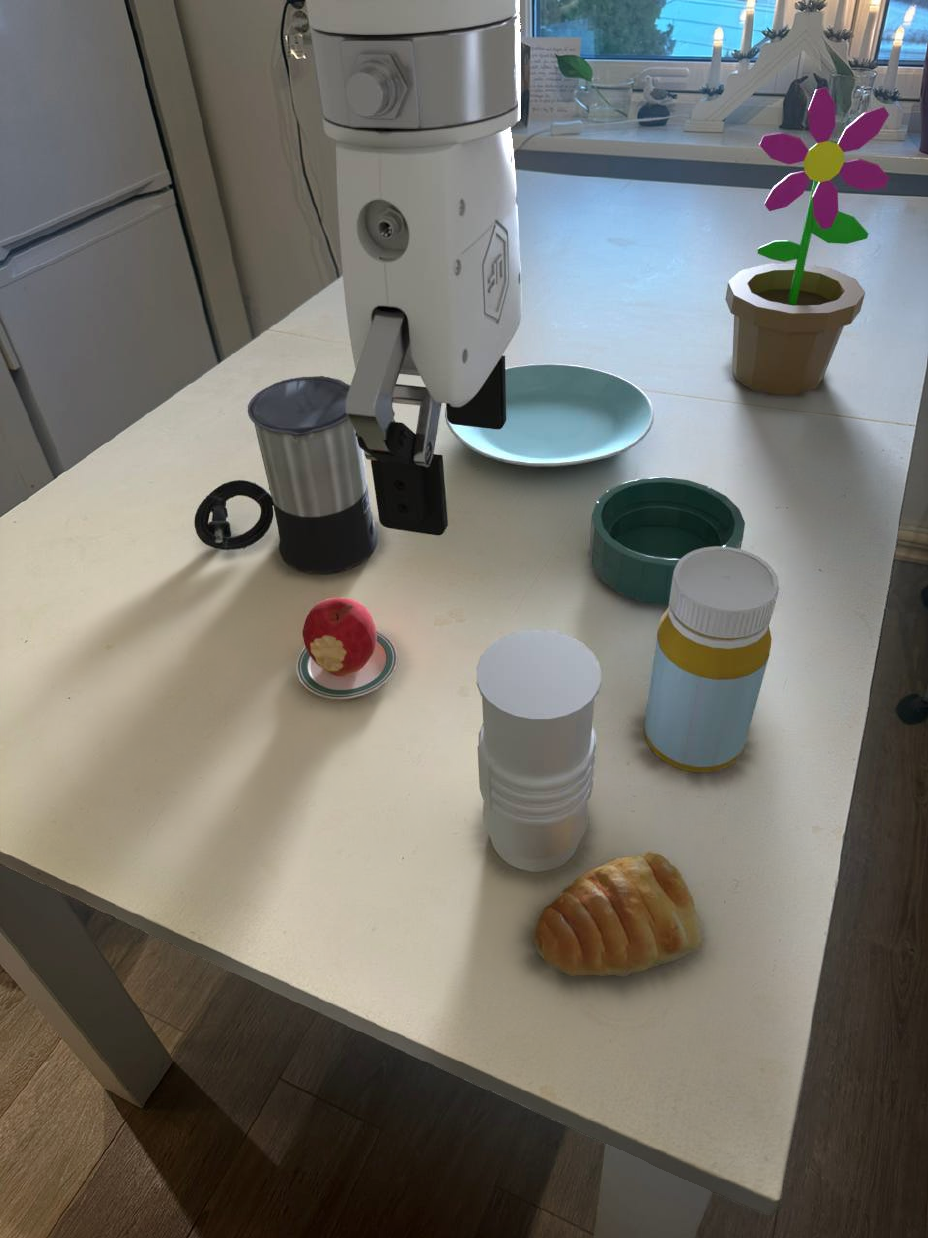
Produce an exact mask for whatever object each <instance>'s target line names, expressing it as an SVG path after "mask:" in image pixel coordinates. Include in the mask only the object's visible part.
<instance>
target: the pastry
mask: <svg viewBox="0 0 928 1238" xmlns="http://www.w3.org/2000/svg"><path fill="white" fill-rule="evenodd" d="M534 944H535V947H536V950H537V952H538V954H539V955H540V957H541V958H542V959H543V960H544V961H545V962H546V963H547V964H548V965H550V966H551V967H552V968H554V969H556V970H557V971H559V972H560V973H563V974H567V975H568V976H570V977H575V976H591V975H594V976H595V975H596V976H602V977H604V976H605V977H606V976H616V977H628V976H630V975H632V974H635V973H640V972H643V971H647V970H648V969H654V968H656V967H657V966H661V965H663V964H666V963H671V962H673V961H677V960H680V959H681V958H682V957H684V956H685V955H688V954H691V953H694V952H697V951H699V950H700V949H701V947H702V946H703V944H704V933H703V927H702V922H701V919H700V916H699V915H698V913H697V910H696V905H695V900H694V898H693V895H692V893H691V891H690V889H689V888H688V885H687V883H686V881H685V880H684V878H683V876H682V874H681V872H680V871H679V868H677V867H676V866H675V865H673V864H672V863H671V861H670V860H669V859H668V858H666V857H665V856H664V855H662V854H661V853H658V852H653V851H648V852H647V853H645V854H642V855H635V856H626V857H619V858H614V859H611V860H609V861H608V862H606V863H604V864H602V865H600V866H599V867H595V868H593V869H590V870H589V871H587V872H586V873H585V874H583V875H582V876H579V877H577V878H575V880H574V881H573V882H572V883H571V884H569V885H568V886H566V887H565V888H564V889H563V891H562V892H561V894H560V895H558V896H557V897H556V899H555V900H553V901H552V902H551V903H550V904H548V905H547V906H545V907H544V908H543V909H542V911H541V913H540V915H539V918H538V922H537V926H536V931H535V932H534Z"/></svg>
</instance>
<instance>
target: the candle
mask: <svg viewBox="0 0 928 1238" xmlns="http://www.w3.org/2000/svg"><path fill="white" fill-rule="evenodd" d="M479 657H480V658H479V660H478V663H477V666H476V685H477V686H476V687H477V689H478V691H479V695H480V697H481V700H482V701H481V702H482V703H481V704H482V724H481V727H480V729H479V732H478V746H477V763H478V784H479V786H478V787H479V791H480V795H481V797H482V800H483V804H482V821H483V824H484V826H485V829H486V832H487V834H488V835H489V837H490V841H491V844H492V847H493V849H494V850H495V852H496V853H497V854H498V856H499V857H500V858H501V859H502V860H503V861H505V863H506V864H508V865H509V866H512V867H514V868H516V869H519V870H522V871H527V872H530V873H537V872H540V873H541V872H548V871H550V870H551V871H552V870H555V869H557V868H559V867H561V866H563V865H565V864H566V863H567V862H568V861H569V860H571V858H572V857H573V856H574V855H575V853H576V851H577V850H578V849H579V846H580V842H581V840H582V838H583V837H584V835H585V833H586V831H587V828H588V825H589V820H590V816H589V800H590V799H591V796H592V795H591V794H592V791H593V786H594V775H595V763H596V752H597V738H596V737H597V736H596V732H595V730H594V728H593V724H594V713H595V701H596V698H597V697H598V695H599V693H600V689H601V685H602V679H603V678H602V671H601V670H602V669H601V664H600V663H599V660H598V659H597V657H596V655H595V653H593V651H592V650H591V649H589V647H588V646H587V645H586V644H585V643H583V642H582V641H580V640H578V639H577V638H576V637H572V636H571V635H568V634H565V633H562V632H559V631H554V630H549V629H548V630H547V629H526V630H522V631H517V632H516V631H515V632H513V633H510V634H507V635H505V636H502V637H500V638H498V639H497V640H496V641H495V642H493V643H492V644H490V645H488V647H487V648H486V650H484V652H483V653H482V654H481V656H479Z"/></svg>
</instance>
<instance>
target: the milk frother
mask: <svg viewBox="0 0 928 1238" xmlns="http://www.w3.org/2000/svg"><path fill="white" fill-rule="evenodd" d="M350 385H351V384H349V383H347V382H345V381H343V380H341V379H338V378H334V377H330V376H323V375H318V376H316V375H315V376H298V377H294V378H288V379H284V380H281V381H278V382H275V383H273V384H271V385H268V386H267V387H265V388H263V389H261V390H260V391H258V392H257V393H256V394H255V395H254V396H253V397H252V398H251V399H250V401H249V403H248V404H247V414H248V418H249V419H250V421H251V422H252V423H253V424H254V428H255V432H256V439H257V441H258V445H259V446H258V447H259V451H260V455H261V458H262V463H263V467H264V471H265V476H266V480H267V484H268V488H269V492H268V491H267V490H266V489H265V488H264V487H263V486H261V485H260V484H257V483H255V482H253V481H251V480H250V481H249V480H245V479H236V480H230V481H227V482H224V483H222V484H221V485H219V486H217V487H216V488H214V489H213V490H212V491H210V492H209V494H207V495H206V496H205V498H204V499H202V502H201V503H200V504H199V505H198V507H197V510H196V512H195V515H194V523H193V524H194V529H195V532H196V535H197V536H198V538H199V540H200V541H201V542H202V543H203V544H205V545H206V546H208V547H210V548H212V549H217V550H223V551H224V550H226V551H228V550H229V551H230V550H240V549H244V548H247V547H250V546H252V545H254V544H255V543H256V542H258V541H260V540H261V539H262V538H263V537H264V536H266V535H265V534H266V533H267V532H268V531H269V529H270V527H271V525H272V523H273V519H274V516H275V520H276V526H277V531H278V536H279V542H278V551H279V554H280V557H281V558H282V560H283V561H284V562H285V563H286V564H287V565H288V566H290V567H291V568H292V569H294V570H296V571H299V572H303V573H307V574H313V575H314V574H315V575H329V574H336V573H341V572H344V571H347V570H350V569H352V568H355V567H356V566H359V565H360V564H361V563H363V562H365V561H366V560H367V559H369V558H370V557H371V555H373V553H374V551H375V550H376V548H377V546H378V542H379V533H378V530H377V528H376V525H375V520H374V515H373V512H372V508H371V501H370V491H369V486H368V480H367V473H366V472H367V471H366V464H365V455H364V450H363V449H361V448H360V447H359V444H358V440H357V436H356V431H355V429H354V427H353V425H352V424H351V422H350V420H349V418H348V416H347V414H346V409H345V402H346V397H347V394H348V391H349V388H350ZM238 496H241V497H247V498H249V499H252V500H253V501H255V502H256V503H257V504H258V506H259V508H260V515H259V519H258V520H257V522H256V523H255V524H254V525H253V526H252V527H251V528H250V529H249V530H247V531H245V532H244V533H241V534H238V535H235V536H232V530H231V524H230V522H229V521H227V518H228V517H229V513H228V509H227V501H228V500H230V499H233V498H235V497H238ZM211 513H212V514H211ZM210 514H211V515H212V516H211V515H210ZM210 516H211V521H210Z"/></svg>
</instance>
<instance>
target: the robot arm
mask: <svg viewBox="0 0 928 1238" xmlns="http://www.w3.org/2000/svg"><path fill="white" fill-rule="evenodd" d="M305 4H306V11H307V18H308V24H309V25H308V26H309V27H310V28H309V32H310V41H311V49H312V54H313V61H314V62H313V63H314V69H315V75H316V76H315V77H316V83H317V91H318V97H319V104H320V111H321V118H322V127H323V132H324V134H325V135H326V136H327V137H329V138H330V139H332V140H334V141H337V142H336V143H335V164H336V165H335V166H336V167H335V171H336V191H337V192H336V197H337V199H336V200H337V215H338V216H337V218H338V231H339V232H338V233H339V245H340V247H339V248H340V258H341V270H342V282H343V292H344V302H345V309H346V310H345V311H346V319H347V328H348V333H349V339H350V340H349V341H350V346H351V352H352V359H353V363H354V369H355V371H354V374H353V377H352V380H351V382H350V384H349V385H350V388H349V391H348V394H347V397H346V402H345V409H346V414H347V416H348V418H349V420H350V422H351V424H352V425H353V427H354V429H355V431H356V436H357V440H358V444H359V447H360V448H361V449H363V455H364V458H365V460H369V461H370V464H371V472H372V477H373V478H372V479H373V486H374V487H373V488H374V492H375V493H374V495H375V500H376V508H377V514H378V520H379V523H380V525H381V526H382V527H384V528H386V529H391V530H399V531H404V532H411V533H418V534H424V535H430V536H437V537H438V536H439V537H440V536H442V535H444V533H445V531H446V529H447V528H448V526H449V522H448V521H449V519H448V506H447V493H446V481H445V469H444V468H445V467H444V456H443V454H436V453H435V448H436V442H437V435H438V430H439V424H440V416H441V410H442V404H445V409H446V411H447V419H448V421H449V422H450V423H451V424H455V425H463V426H472V427H480V428H489V429H501V428H502V427H503V426H504V424H505V422H506V376H505V369H506V355H504V353H505V351H506V350H507V348H508V347H509V345H510V344H511V342H512V340H513V339H514V337H515V335H516V333H517V331H518V329H519V326H520V324H521V320H522V316H523V315H522V313H523V292H522V291H523V290H522V288H523V287H522V267H521V247H520V245H521V244H520V229H519V225H520V224H519V209H518V208H519V207H518V206H519V205H518V194H517V193H518V192H517V179H516V167H515V166H516V165H515V158H514V157H515V156H514V155H515V154H514V148H513V147H514V146H513V138H512V132H511V131H512V130H511V128H513V127H514V126H516V125H517V123H518V122H519V121H520V120H521V32H520V29H521V25H520V24H521V23H520V18H521V17H520V0H305ZM400 375H408V376H415V377H417V376H418V377H420V378H421V380H422V382H423V384H424V386H418V385H410V384H402V383H400V384H399V383H397V382H398V379H399V376H400ZM394 404H403V405H411V406H417V407H419V410H418V411H419V412H418V417H417V423H416V429H415V432H414V431H413V430H412V429H411V428H410V427H408V426H407V425H406V424H405V423H404V422H398V421H396V420H395V416H396V415H395V414H396V413H395V411H394V408H393V405H394Z"/></svg>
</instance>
